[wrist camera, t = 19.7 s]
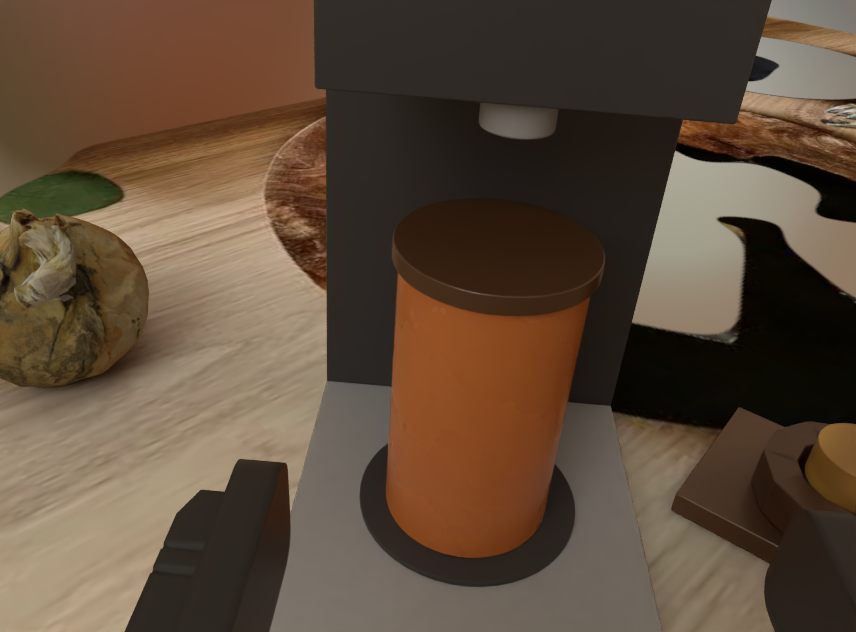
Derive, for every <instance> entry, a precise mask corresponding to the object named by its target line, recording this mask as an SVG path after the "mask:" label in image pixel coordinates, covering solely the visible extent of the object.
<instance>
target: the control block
mask: <svg viewBox="0 0 856 632" xmlns="http://www.w3.org/2000/svg"><path fill="white" fill-rule="evenodd" d="M828 425H831V424H824V423H817V422H804V423H800V424H796V425H792V426H788V427H783V426H781V425H778V424H776V423H774V422H772V421H769V420H767V419H765V418H763V417H760V416H758V415H756V414H754V413H751V412H749V411H747V410H745V409H742V408H740V407H739V408H738V409H737V410H736V412H735V413H734V415H733V416H732V417H731V419H730V420H729V421H728V423H727V424H726V426H725V427H724V428H723V430H722V431H721V433H720V434H719V435H718V437H717V438H716V440H715V441H714V442H713V444H712V445H711V446H710V448H709V449H708V451H707V452H706V453H705V455H704V456H703V458H702V459H701V460H700V462H699V463H698V464H697V466H696V467H695V469H694V470H693V471H692V473H691V474H690V476H689V477H688V478H687V480H686V481H685V482H684V484H683V485H682V487H681V488H680V489H679V491H678V492H677V494H676V496H675V499H674V502H673V505H672V511H674V512H676V513H678V514H680V515H682V516H684V517H686V518H687V519H689V520H691V521H693V522H695V523H697V524H699V525H701V526H702V527H704V528H706V529H708V530H710V531H712V532H714V533H715V534H717V535H719V536H721V537H723V538H725V539H727V540H729V541H730V542H732V543H734V544H736V545H738V546H740V547H742V548H744V549H745V550H747V551H749V552H751V553H753V554H755V555H757V556H758V557H760V558H762V559H764V560H766V561H768V562H770V563H771V561H772V559H773V557H774V555H775V552H776V550H777V548H778V546H779V544H780V541H781V539H782V537H783V535H784V533H785V531H786V528H787V526H788V524H789V522H790V520H791V517H792V516H793V514H794V513H795V511H797V510H798V509H811V510H823V511H834V512H846V513H851V514H853V515H854V516H855V517H856V513H854V512H852V511H850V510H847V509H845V508H843V507H841V506H839V505H837V504H835V503H833V502H831V501H829V500H827V499H825V498H824V497H823V496H822V495H821V494H820V493H819V492H818V491H817V490H816V489H814V488H813V487H812V486H811V484H810V483H809V481H808V479H807V477H806V474H805V464H806V461H807V459H808V457H809V455H810V453H811V450H812V448H813V446H814V444H815V441H816V439H817V437H818V435H819V433H820V431H821V430H822V429H823V428H825V427H826V426H828Z"/></svg>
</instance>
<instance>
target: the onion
mask: <svg viewBox="0 0 856 632" xmlns="http://www.w3.org/2000/svg"><path fill="white" fill-rule="evenodd" d="M12 213H13V216H12V219H11V224H10V226H9V227H8V228H6V229H5V230H3V231H2V232H0V378H2V379H4V380H6V381H9V382H11V383H14V384H16V385H19V386H35V387H42V388H50V387H59V386H64V385H67V384H71V383H74V382H76V381H79V380H82V379H85V378H88V377H92V376H96V375H100V374H102V373H104V372H105V371H106V370H108V369H109V368H110V367H111V366H112V365H113V364H114V363H115V362H116V361H117V360H119V359H120V358H121V357H122V356H123V355H124V354H126V353H127V352H128V351H129V350H130V349H131V348H132V347H133V346H134V345H135V344H136V343H137V342H138V340H139V338H140V337H141V335H142V333H143V330H144V328H145V325H146V320H147V316H148V300H149V289H148V280H147V277H146V275H145V272H144V269H143V267H142V265H141V263H140V262H139V260H138V259H137V257H136V256H135V254H134V253H133V251H132V250H131V248H130V247H129V246H128V245H127V244H126V243H125V242H124V241H123V240H122V239H120V238H119V237H117V236H116V235H115V234H113V233H111V232H110V231H108V230H105V229H103V228H101V227H99V226H96V225H94V224H91V223H89V222H87V221H84V220H80V219H77V218H73V217H69V216H63V215H60V214H59V213H58V214H56V215H55V217H50V218H46V217H45V218H38V219H37V218H36V217H35V216H34V214H33V213H31V212H30V211H28V210H27V209H22V211H18V210H16V211H14V212H12Z"/></svg>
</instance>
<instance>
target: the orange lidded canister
mask: <svg viewBox="0 0 856 632" xmlns="http://www.w3.org/2000/svg"><path fill="white" fill-rule="evenodd" d="M392 260H393V264H394V266H395V268H396V270H397V272H398V273H397V292H396V310H395V329H394V348H393V366H392V385H391V403H390V422H389V441H388V459H387V478H386V499H387V505H388V507H389V510H390V513H391V514H392V516H393V518H394V520H395V521H396V522H397V524H398V525H399V526H400V528H401V529H402V530H403V531H404V532H405V533H406V534H407V535H409V536H410V537H411V538H413V539H414V540H415V541H417V542H418V543H420V544H422V545H423V546H425V547H427V548H430V549H432V550H434V551H437V552H440V553H443V554H446V555H451V556H456V557H464V558H483V557H491V556H496V555H500V554H503V553H506V552H509V551H511V550H513V549H515V548H517V547H519V546H520V545H522V544H523V543H525V542H526V541H527V540H528V539H529V538H530V537H531V536H532V535H533V534H534V533H535V532H536V530H537V529H538V527H539V526H540V524H541V522H542V519H543V515H544V512H545V507H546V502H547V498H548V493H549V488H550V483H551V479H552V474H553V469H554V465H555V460H556V455H557V451H558V446H559V441H560V437H561V432H562V427H563V422H564V418H565V413H566V408H567V404H568V399H569V394H570V390H571V385H572V380H573V376H574V371H575V366H576V361H577V357H578V352H579V347H580V343H581V338H582V333H583V329H584V324H585V319H586V315H587V310H588V305H589V301H590V296H591V295H592V294H593V293H594V292H595V291H596V290H597V288H598V287H599V285H600V282H601V279H602V275H603V270H604V266H605V254H604V250H603V248H602V246H601V244H600V242H599V241H598V240H597V238H596V237H595V236H594V235H593V234H592V233H591V232H590V231H589V230H587V229H586V228H584V227H583V226H582V225H580V224H578V223H577V222H575V221H573V220H572V219H569V218H567V217H565V216H563V215H561V214H558V213H556V212H553V211H551V210H547V209H544V208H541V207H538V206H534V205H530V204H525V203H520V202H515V201H508V200H500V199H485V198H467V199H455V200H448V201H442V202H437V203H433V204H430V205H426V206H424V207H421V208H419V209H416V210H414V211H413V212H411V213H409V214H408V215H406V216H405V217H404V218H402V219H401V220H400V222H399V223H398V224H397V226H396V227H395V229H394V232H393V236H392Z"/></svg>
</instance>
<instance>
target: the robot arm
mask: <svg viewBox="0 0 856 632" xmlns="http://www.w3.org/2000/svg"><path fill="white" fill-rule="evenodd" d="M290 537H291V523H290V504H289V484H288V469H287V464H286V463H280V462H269V461H257V460H245V459H239V460H238V461H237V463H236V464H235V467H234V469H233V472H232V474H231V477H230V480H229V482H228V485H227V487H226V490H225V492H221V491H210V490H200V491H199V492H198V493H197V494H196V495H195V496H194V497H193V498H192V499H191V500H190V501H189V502H188V503H187V504H186V505H185V506H184V507H183V508H182V509H181V510H180V511H179V512H178V513H177V514H176V516H175V518H174V521H173V523H172V525H171V527H170V530H169V532H168V534H167V537H166V539H165V541H164V546H163V549H161V550H160V552H159V555H158V557H157V559H156V562H155V564H154V566H153V572H152V573H150V575H149V577H148V580H147V582H146V584H145V587H144V589H143V591H142V593H141V596H140V598H139V600H138V602H137V605H136V607H135V609H134V612H133V614H132V616H131V618H130V621H129V623H128V625H127V627H126V630H125V632H269V631H270V628H271V624H272V620H273V616H274V612H275V608H276V605H277V601H278V597H279V593H280V589H281V585H282V582H283V578H284V574H285V570H286V566H287V561H288V555H289V548H290ZM764 594H765V603H766V608H767V611H768V615H769V617H770V620H771V623H772V625H773V628H774V631H775V632H856V517H855V516H854V515H853V514H851V513H846V512H834V511H823V510H811V509H798V510H797V511H795V513H794V514H793V516H792V517H791V520H790V522H789V524H788V526H787V528H786V531H785V533H784V535H783V537H782V539H781V541H780V544H779V546H778V548H777V550H776V552H775V555H774V557H773V559H772V561H771V563H770V566H769V568H768V570H767V573H766V577H765V586H764Z"/></svg>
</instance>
